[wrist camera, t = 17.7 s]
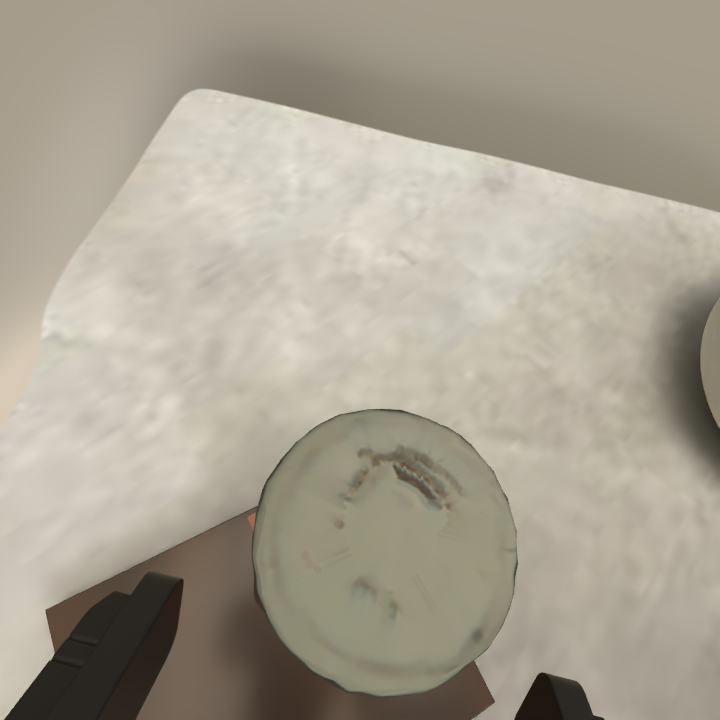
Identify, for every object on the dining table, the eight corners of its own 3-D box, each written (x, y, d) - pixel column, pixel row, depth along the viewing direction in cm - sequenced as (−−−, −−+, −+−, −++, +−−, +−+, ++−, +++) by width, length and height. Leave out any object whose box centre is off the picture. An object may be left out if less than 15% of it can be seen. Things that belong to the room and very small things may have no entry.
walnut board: (364, 457, 29) (367, 451, 27) (484, 694, 24) (496, 702, 23) (59, 607, 24) (43, 610, 22) (139, 942, 19) (125, 973, 18)
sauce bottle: (366, 474, 27) (490, 282, 9) (415, 581, 25) (715, 623, 7) (258, 523, 25) (135, 411, 7) (302, 643, 23) (285, 929, 5)
